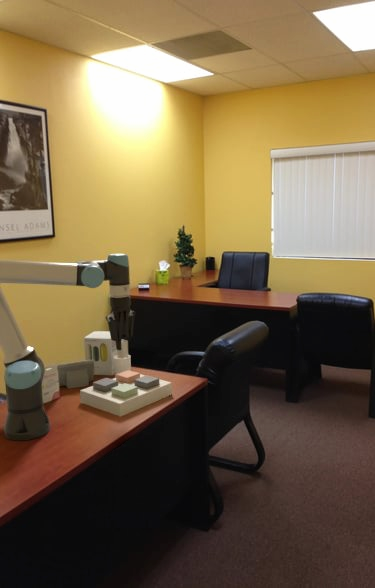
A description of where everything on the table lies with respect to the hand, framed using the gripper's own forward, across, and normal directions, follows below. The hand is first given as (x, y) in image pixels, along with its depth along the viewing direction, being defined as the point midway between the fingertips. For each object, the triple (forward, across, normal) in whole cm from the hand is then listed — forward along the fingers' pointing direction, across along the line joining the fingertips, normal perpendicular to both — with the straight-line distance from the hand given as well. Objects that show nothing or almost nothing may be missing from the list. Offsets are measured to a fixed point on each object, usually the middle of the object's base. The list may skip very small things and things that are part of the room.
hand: (123, 357), depth 195 cm
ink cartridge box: (+20, -14, +30) cm, 39 cm away
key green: (+17, 0, 0) cm, 17 cm away
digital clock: (+20, +4, +36) cm, 41 cm away
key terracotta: (+17, +12, +11) cm, 23 cm away
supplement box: (+20, +24, +40) cm, 51 cm away
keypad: (+19, +6, +6) cm, 21 cm away
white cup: (+20, +22, +26) cm, 39 cm away
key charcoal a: (+17, 0, +11) cm, 20 cm away
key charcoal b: (+17, +12, 0) cm, 21 cm away
